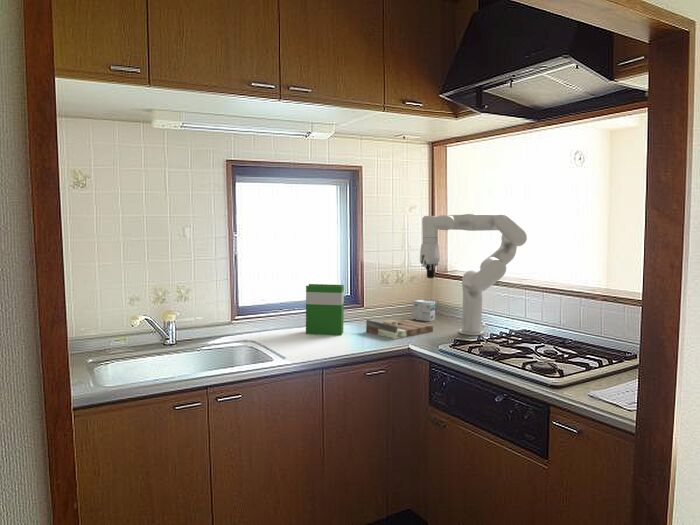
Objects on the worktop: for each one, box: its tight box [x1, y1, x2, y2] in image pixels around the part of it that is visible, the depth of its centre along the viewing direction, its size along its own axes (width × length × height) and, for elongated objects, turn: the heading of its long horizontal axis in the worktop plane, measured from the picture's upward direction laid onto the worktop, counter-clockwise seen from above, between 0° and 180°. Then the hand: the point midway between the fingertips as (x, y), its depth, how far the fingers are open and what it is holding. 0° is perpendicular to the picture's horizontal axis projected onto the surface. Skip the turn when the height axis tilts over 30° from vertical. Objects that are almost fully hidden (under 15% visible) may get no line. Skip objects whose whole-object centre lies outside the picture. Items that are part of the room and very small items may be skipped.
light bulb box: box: [413, 299, 436, 322], centre depth 296 cm, size 11×7×11 cm, turn 58°
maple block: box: [382, 319, 398, 329], centre depth 256 cm, size 5×5×4 cm
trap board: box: [365, 319, 434, 340], centre depth 264 cm, size 28×20×6 cm
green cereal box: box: [305, 283, 345, 336], centre depth 258 cm, size 18×7×24 cm, turn 83°
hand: (430, 277), depth 258 cm, fingers closed
